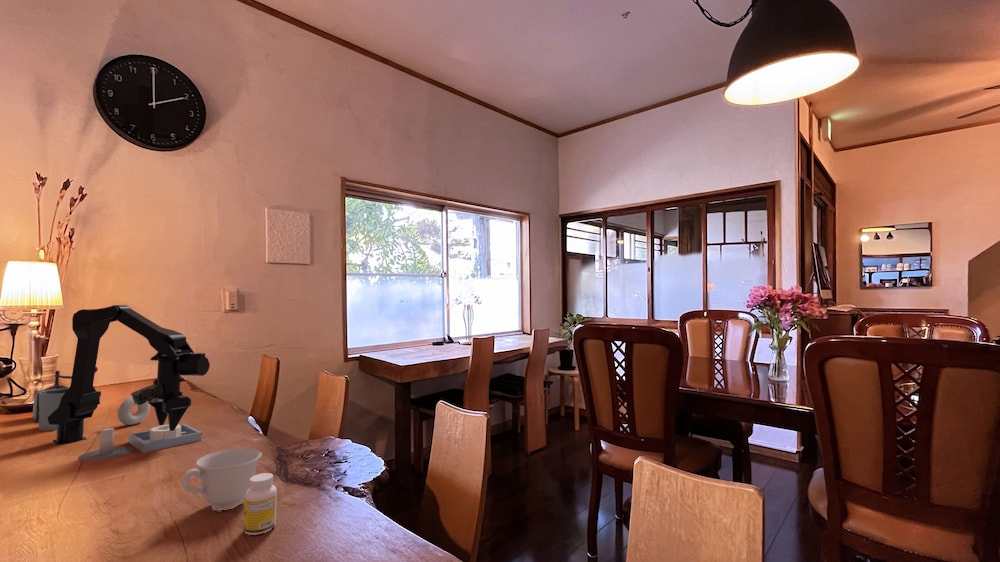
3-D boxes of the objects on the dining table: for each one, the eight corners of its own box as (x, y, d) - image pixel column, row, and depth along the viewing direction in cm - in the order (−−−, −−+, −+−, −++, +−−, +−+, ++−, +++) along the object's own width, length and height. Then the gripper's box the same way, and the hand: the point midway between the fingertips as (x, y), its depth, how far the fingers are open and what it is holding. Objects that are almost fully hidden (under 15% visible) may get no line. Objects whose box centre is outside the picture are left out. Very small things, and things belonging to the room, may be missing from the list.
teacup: (164, 516, 87) (167, 465, 88) (238, 488, 100) (240, 444, 101) (198, 532, 82) (200, 477, 82) (272, 500, 95) (273, 453, 95)
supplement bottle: (251, 522, 85) (253, 471, 86) (280, 521, 86) (282, 471, 86) (237, 537, 80) (240, 482, 81) (268, 536, 80) (270, 482, 81)
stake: (73, 456, 118) (75, 430, 119) (125, 446, 127) (126, 422, 128) (83, 466, 112) (85, 438, 112) (137, 454, 121) (138, 429, 121)
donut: (122, 429, 144) (123, 398, 144) (113, 428, 144) (115, 397, 145) (152, 421, 153) (153, 392, 154) (144, 420, 154) (145, 391, 154)
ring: (146, 441, 130) (147, 428, 130) (180, 434, 137) (181, 422, 137) (154, 446, 126) (155, 432, 126) (189, 439, 133) (190, 426, 133)
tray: (128, 444, 129) (129, 434, 129) (184, 433, 140) (184, 423, 140) (143, 454, 121) (144, 443, 121) (201, 442, 132) (201, 432, 132)
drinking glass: (46, 424, 147) (48, 388, 148) (85, 421, 152) (87, 386, 152) (29, 433, 138) (31, 394, 139) (71, 429, 142) (73, 392, 143)
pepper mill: (35, 423, 149) (38, 370, 149) (31, 417, 155) (34, 366, 156) (96, 414, 161) (99, 365, 162) (90, 409, 168) (93, 362, 168)
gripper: (125, 375, 130) (122, 428, 130) (146, 382, 119) (142, 440, 119) (170, 370, 139) (167, 420, 139) (193, 377, 128) (190, 431, 128)
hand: (166, 427), depth 131 cm, fingers open, 9 cm apart
